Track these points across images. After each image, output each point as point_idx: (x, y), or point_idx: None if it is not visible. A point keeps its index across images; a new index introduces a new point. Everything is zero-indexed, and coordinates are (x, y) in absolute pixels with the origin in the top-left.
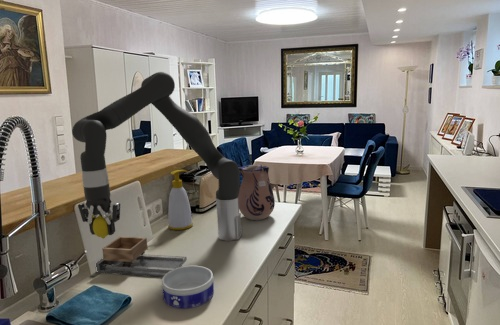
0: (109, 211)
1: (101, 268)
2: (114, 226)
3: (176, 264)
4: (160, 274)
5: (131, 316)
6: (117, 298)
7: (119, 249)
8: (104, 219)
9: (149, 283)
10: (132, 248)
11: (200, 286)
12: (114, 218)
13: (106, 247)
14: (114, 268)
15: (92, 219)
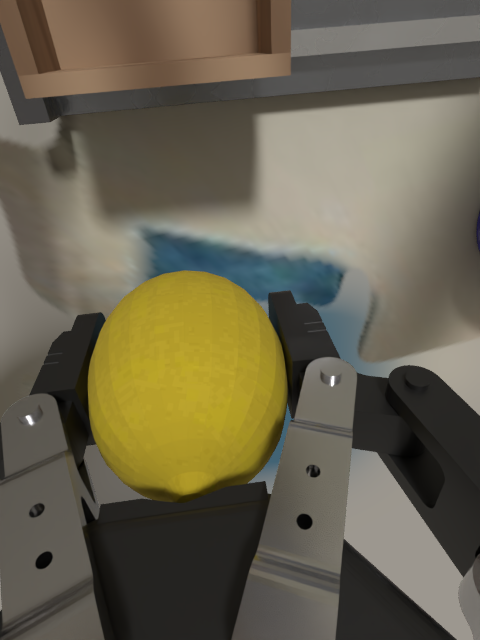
0: (326, 491)
1: (55, 97)
2: (330, 343)
3: None
4: (436, 80)
5: (398, 344)
6: (308, 285)
7: (187, 83)
8: (265, 463)
9: (389, 155)
10: (286, 37)
11: None
12: (426, 473)
13: (34, 59)
14: None
15: (89, 483)
